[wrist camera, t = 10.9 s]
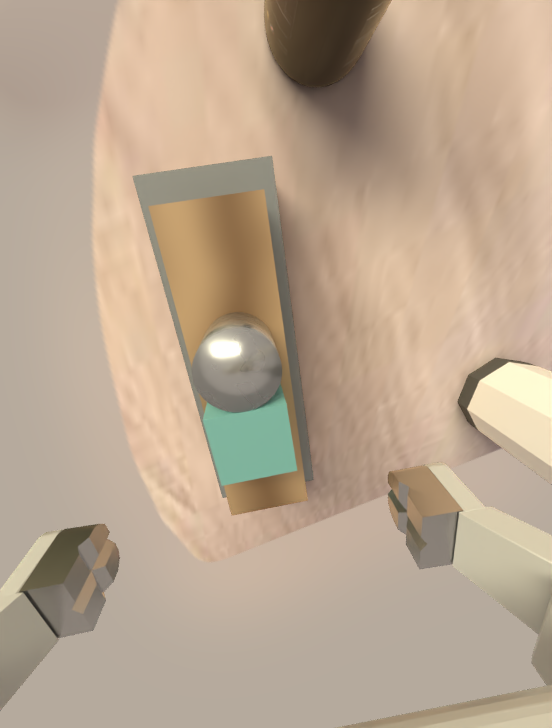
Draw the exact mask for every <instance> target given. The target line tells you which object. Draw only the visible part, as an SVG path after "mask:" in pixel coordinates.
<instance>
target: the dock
mask: <svg viewBox="0 0 552 728" xmlns="http://www.w3.org/2000/svg"><path fill="white" fill-rule="evenodd" d="M133 180H134V183H135V187H136V190H137V194H138V197H139V201H140V205H141V208H142V212H143V215H144V219H145V222H146V226H147V230H148V233H149V237H150V240H151V244H152V247H153V251H154V255H155V258H156V262H157V265H158V269H159V272H160V276H161V280H162V283H163V287H164V290H165V294H166V297H167V301H168V304H169V308H170V312H171V315H172V319H173V322H174V326H175V329H176V333H177V337H178V340H179V344H180V347H181V351H182V354H183V358H184V362H185V365H186V369H187V372H188V376H189V379H190V383H191V387H192V390H193V394H194V397H195V401H196V404H197V408H198V411H199V415H200V419H201V422H202V426H203V429H204V433H205V436H206V440H207V444H208V447H209V451H210V454H211V458H212V461H213V465H214V469H215V472H216V476H217V479H218V483H219V486H220V490H221V494H222V497H223V498H224V497H227V496H226V492H225V488H224V486H222V485H221V482H220V478H219V475H218V472H217V468H216V465H215V461H214V458H213V454H212V451H211V447H210V444H209V440H208V437H207V433H206V430H205V427H204V423H203V417H204V411H203V407H202V403H201V400H200V396H199V393H198V391H197V389H196V387H195V385H194V382H193V378H192V366H191V363H190V359H189V355H188V351H187V348H186V344H185V340H184V337H183V333H182V329H181V326H180V322H179V318H178V314H177V311H176V307H175V303H174V300H173V296H172V292H171V289H170V285H169V281H168V277H167V274H166V270H165V266H164V263H163V259H162V255H161V251H160V248H159V244H158V240H157V237H156V233H155V229H154V226H153V222H152V218H151V214H150V211H149V207H148V206H153V205H159V204H166V203H173V202H180V201H187V200H194V199H200V198H207V197H214V196H221V195H228V194H235V193H241V192H248V191H255V190H262V189H264V191H265V198H266V205H267V212H268V219H269V226H270V234H271V241H272V248H273V255H274V262H275V269H276V277H277V284H278V291H279V298H280V305H281V312H282V320H283V327H284V334H285V341H286V348H287V355H288V363H289V370H290V377H291V384H292V391H293V398H294V406H295V413H296V420H297V427H298V434H299V441H300V449H301V456H302V463H303V470H304V477H305V482H306V481H311V480H314V479H313V471H312V463H311V455H310V448H309V440H308V432H307V424H306V417H305V409H304V401H303V393H302V385H301V378H300V370H299V362H298V354H297V347H296V339H295V331H294V323H293V316H292V308H291V300H290V292H289V285H288V277H287V269H286V261H285V253H284V246H283V238H282V230H281V222H280V215H279V207H278V199H277V191H276V184H275V176H274V168H273V160H272V156H268V157H261V158H254V159H247V160H240V161H233V162H226V163H219V164H212V165H205V166H198V167H191V168H184V169H178V170H171V171H164V172H157V173H150V174H143V175H136V176H133Z"/></svg>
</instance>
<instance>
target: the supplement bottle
mask: <svg viewBox="0 0 552 728" xmlns="http://www.w3.org/2000/svg"><path fill="white" fill-rule="evenodd" d="M391 1H392V0H265V2H264V20H265V29H266V35H267V39H268V43H269V46H270V49H271V51H272V54H273V56H274V58H275V60H276V61H277V63H278V64H279V66H280V67H281V69H282V70H283V71H284V72H285V73H286V74H287V75H288V76H289V77H290V78H292V79H293V80H295V81H296V82H298V83H300V84H302V85H305V86H309V87H324V86H328V85H331V84H333V83H335V82H337V81H338V80H340V79H342V78H343V77H344V76H345V75H346V74H347V73H348V72H349V71H350V70H351V69H352V68H353V67H354V65H355V64H356V62H357V61H358V59H359V58H360V56H361V54H362V53H363V51H364V49H365V48H366V46H367V44H368V42H369V40H370V39H371V37H372V35H373V33H374V32H375V30H376V28H377V26H378V24H379V23H380V21H381V19H382V17H383V15H384V14H385V12H386V10H387V8H388V6H389V5H390V3H391Z"/></svg>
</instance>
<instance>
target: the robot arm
mask: <svg viewBox="0 0 552 728" xmlns="http://www.w3.org/2000/svg"><path fill="white" fill-rule="evenodd" d="M388 483H389V485H390V487H391V488H392V489H391V491H390V492H389V493H388V504H389V508H390V512H391V515H392V518H393V520H394V522H395V524H396V526H397V528H398V530H400V531H401V532H403V533H404V534H406V545H407V547H408V549H409V550H410V552H411V554H412V556H413V558H414V560H415V562H416V563H417V565H418V567H419V569H424V568H430V567H437V566H443V565H450V564H453V567H454V568H456V569H457V570H458V571H459V572H461V573H462V574H463V575H465V576H466V577H467V578H468V579H469V580H471V581H472V582H473V583H474V584H476V585H477V586H478V587H480V588H481V589H482V590H483V591H485V592H486V593H487V594H488V595H490V596H491V597H492V598H493V599H495V600H496V601H497V602H499V603H500V604H501V605H502V606H503V607H505V608H506V609H507V610H509V611H510V612H511V613H512V614H513V615H515V616H516V617H517V618H519V619H520V620H521V621H522V622H523V623H525V624H526V625H527V626H528V627H530V628H531V629H532V630H533V631H535V632H536V633H537V634H538V638H537V642H536V644H535V648H534V651H533V654H532V664H533V666H534V667H535V668H536V670H537V672H538V673H539V675H540V676H541V678H542V679H543V681H544V682H545V684H546V685H547V686H543V687H538V688H533V689H527V690H522V691H517V692H513V693H507V694H502V695H497V696H492V697H487V698H483V699H477V700H472V701H467V702H462V703H457V704H452V705H447V706H442V707H437V708H433V709H427V710H422V711H417V712H412V713H407V714H402V715H397V716H392V717H387V718H382V719H377V720H372V721H367V722H362V723H358V724H352V725H347V726H342V727H337V728H552V535H550V534H548V533H545V532H543V531H541V530H539V529H537V528H535V527H533V526H531V525H529V524H527V523H525V522H522V521H521V520H519V519H517V518H515V517H512V516H510V515H508V514H506V513H504V512H502V511H500V510H498V509H496V508H494V507H492V506H491V507H485V506H484V505H483V504H482V503H481V502H480V501H479V500H478V498H477V497H476V496H475V495H474V494H473V493H472V492H471V491H470V490H469V489H468V488H467V487H466V486H465V484H463V482H462V481H461V480H460V479H459V478H458V477H457V476H456V475H455V474H454V473H453V472H452V471H451V469H450V468H449V467H448V466H447V465H446V464H445V463H443V462H437V463H432V464H426V465H423V466H422V465H421V466H416V467H411V468H405V469H400V470H395V471H390V472H389V474H388ZM109 533H110V532H109V530H108V529H107V527H106V525H105V524H95V525H88V526H83V527H75V528H69V529H64V530H58V531H51V532H46V533H45V534H43V535H42V536H40V537H39V538H38V540H37V541H36V542H35V544H34V545H33V546H32V548H31V549H30V551H29V552H28V553H27V555H26V556H25V557H24V558H23V560H22V561H21V563H20V564H19V565H18V567H17V568H16V569H15V571H14V572H13V573H12V575H11V576H10V577H9V579H8V580H7V582H6V583H5V584H4V585H3V587H2V588H1V590H0V711H1V709H2V708H3V707H4V706H5V704H6V703H7V702H8V701H9V700H10V699H11V697H12V696H13V695H14V694H15V692H16V691H17V690H18V689H19V688H20V686H21V685H22V684H23V683H24V682H25V680H26V679H27V678H28V677H29V676H30V674H31V673H32V672H33V671H34V669H35V668H36V667H37V666H38V665H39V663H40V662H41V661H42V660H43V659H44V657H45V656H46V655H47V654H48V653H49V651H50V650H51V649H52V648H53V647H54V645H55V644H56V643H57V642H58V638H61V637H66V636H70V635H75V634H79V633H84V632H88V631H93V630H94V627H95V625H96V623H97V620H98V618H99V616H100V613H101V611H102V608H103V606H104V604H105V601H106V599H105V595H104V591H105V590H106V589H107V588H108V587H109V586H110V585H111V584H112V583H113V582H114V579H115V577H116V574H117V572H118V567H119V559H120V557H119V551H118V548H117V546H116V544H115V543H114V542H112V541H110V540H108V539H107V538H108V535H109Z"/></svg>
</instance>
